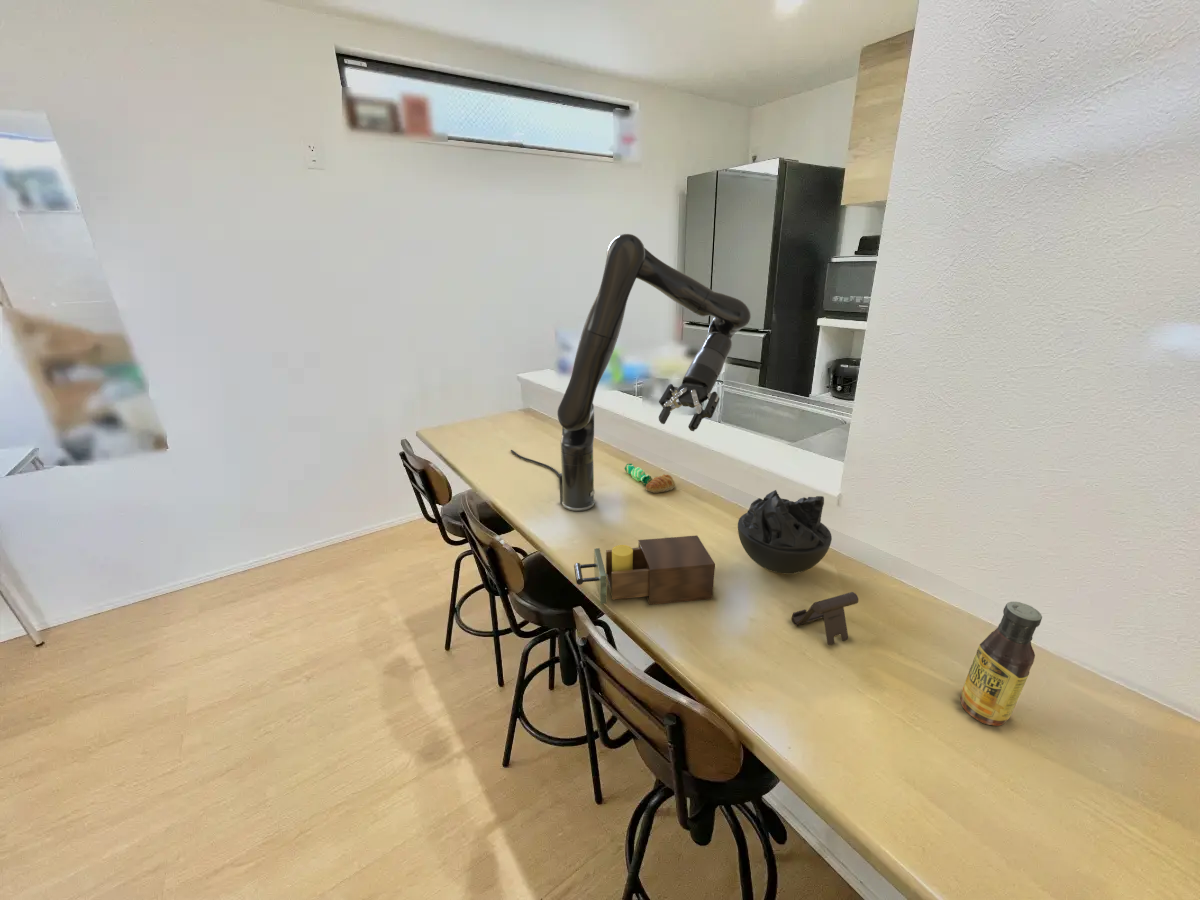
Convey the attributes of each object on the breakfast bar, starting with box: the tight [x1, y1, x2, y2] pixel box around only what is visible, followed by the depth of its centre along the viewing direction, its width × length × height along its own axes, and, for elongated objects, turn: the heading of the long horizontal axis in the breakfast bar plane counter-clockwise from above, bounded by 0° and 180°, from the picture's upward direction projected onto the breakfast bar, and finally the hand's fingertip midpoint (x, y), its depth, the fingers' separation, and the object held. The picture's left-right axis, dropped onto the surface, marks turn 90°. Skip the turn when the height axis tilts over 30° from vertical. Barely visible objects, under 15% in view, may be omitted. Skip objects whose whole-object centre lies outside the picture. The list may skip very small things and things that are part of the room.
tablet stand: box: [790, 591, 859, 646], centre depth 93 cm, size 9×8×8 cm
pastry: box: [645, 473, 676, 494], centre depth 155 cm, size 9×7×4 cm
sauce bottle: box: [960, 601, 1043, 727], centre depth 73 cm, size 7×6×20 cm
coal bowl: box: [737, 489, 833, 575], centre depth 111 cm, size 20×20×19 cm
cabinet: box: [637, 535, 716, 606], centre depth 107 cm, size 14×12×9 cm
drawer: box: [573, 547, 649, 605], centre depth 105 cm, size 17×10×7 cm, turn 98°
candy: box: [624, 463, 653, 487], centre depth 162 cm, size 12×3×4 cm
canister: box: [611, 544, 633, 572], centre depth 105 cm, size 4×4×8 cm
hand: (675, 425), depth 118 cm, fingers open, 8 cm apart
